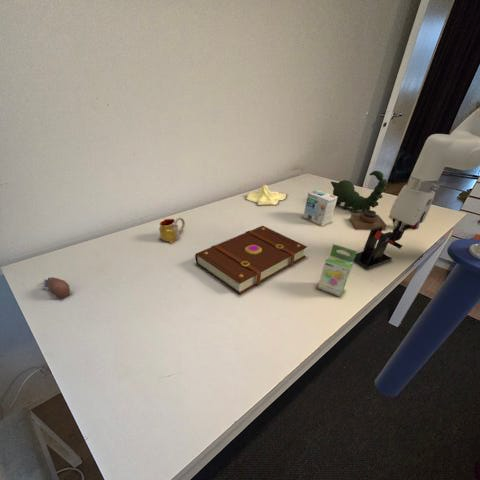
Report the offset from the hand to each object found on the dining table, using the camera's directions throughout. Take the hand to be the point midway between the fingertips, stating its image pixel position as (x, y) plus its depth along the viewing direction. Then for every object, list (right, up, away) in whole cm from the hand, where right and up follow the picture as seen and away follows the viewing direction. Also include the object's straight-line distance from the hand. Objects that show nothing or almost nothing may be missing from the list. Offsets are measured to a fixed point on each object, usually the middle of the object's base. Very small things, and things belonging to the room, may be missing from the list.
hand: (394, 239), depth 92 cm
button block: (0, +13, +21) cm, 25 cm away
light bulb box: (-21, +16, +23) cm, 35 cm away
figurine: (-109, -20, -15) cm, 112 cm away
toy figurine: (-2, +25, +33) cm, 42 cm away
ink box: (-27, -19, -12) cm, 35 cm away
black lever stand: (-9, -7, 0) cm, 11 cm away
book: (-51, -8, -1) cm, 51 cm away
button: (0, +16, +18) cm, 24 cm away
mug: (-80, +4, +10) cm, 81 cm away
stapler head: (-5, -2, -2) cm, 6 cm away
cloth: (-41, +34, +41) cm, 67 cm away
